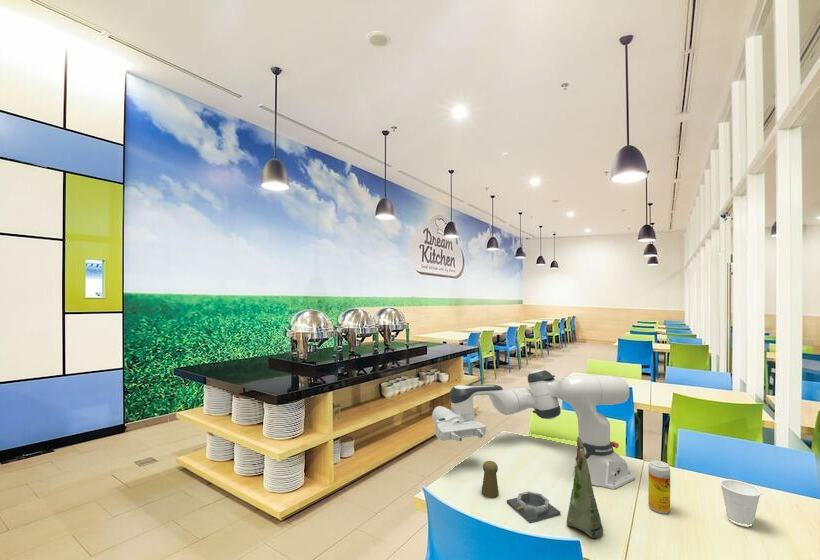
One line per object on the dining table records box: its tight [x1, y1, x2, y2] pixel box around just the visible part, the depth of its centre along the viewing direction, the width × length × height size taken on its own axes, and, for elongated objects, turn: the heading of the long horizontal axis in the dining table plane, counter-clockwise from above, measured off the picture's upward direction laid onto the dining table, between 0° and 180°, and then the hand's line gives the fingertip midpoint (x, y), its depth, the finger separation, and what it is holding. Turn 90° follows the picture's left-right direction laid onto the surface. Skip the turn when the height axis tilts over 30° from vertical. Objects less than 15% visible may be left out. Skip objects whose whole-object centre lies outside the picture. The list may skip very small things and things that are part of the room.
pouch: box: [566, 438, 604, 539], centre depth 120 cm, size 11×12×25 cm
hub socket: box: [506, 491, 561, 524], centre depth 129 cm, size 12×12×3 cm
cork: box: [481, 460, 500, 499], centre depth 138 cm, size 6×6×11 cm
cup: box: [719, 478, 762, 525], centre depth 123 cm, size 10×10×11 cm
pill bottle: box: [647, 459, 671, 515], centre depth 130 cm, size 6×6×15 cm
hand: (471, 437), depth 150 cm, fingers open, 8 cm apart
